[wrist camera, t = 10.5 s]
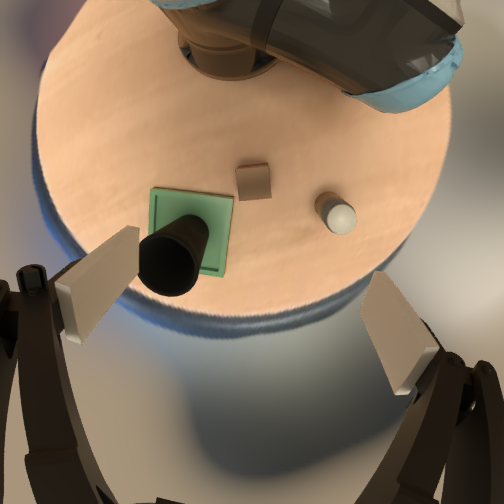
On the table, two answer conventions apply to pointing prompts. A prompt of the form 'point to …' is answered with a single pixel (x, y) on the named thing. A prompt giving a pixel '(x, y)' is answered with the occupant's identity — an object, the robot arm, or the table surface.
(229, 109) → the table surface
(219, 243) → the tray
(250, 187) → the walnut block
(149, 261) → the cup
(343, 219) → the pepper shaker
